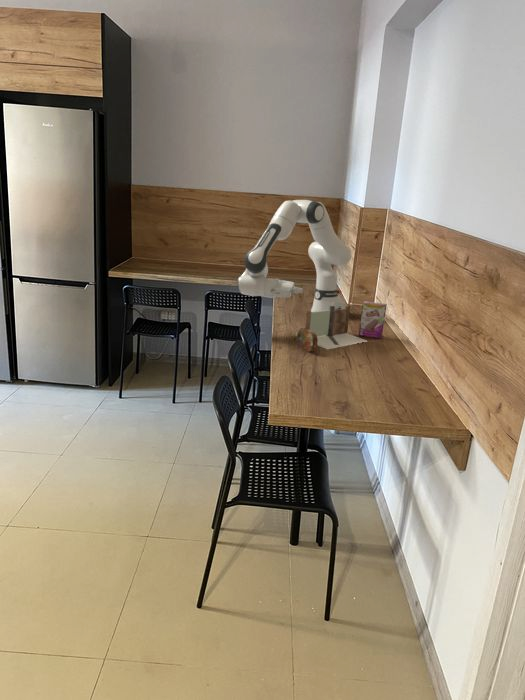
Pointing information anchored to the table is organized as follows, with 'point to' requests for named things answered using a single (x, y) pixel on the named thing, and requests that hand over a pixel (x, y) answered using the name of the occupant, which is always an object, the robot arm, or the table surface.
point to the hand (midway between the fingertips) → (302, 290)
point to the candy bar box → (372, 319)
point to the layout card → (338, 341)
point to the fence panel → (318, 322)
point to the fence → (338, 320)
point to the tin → (307, 339)
